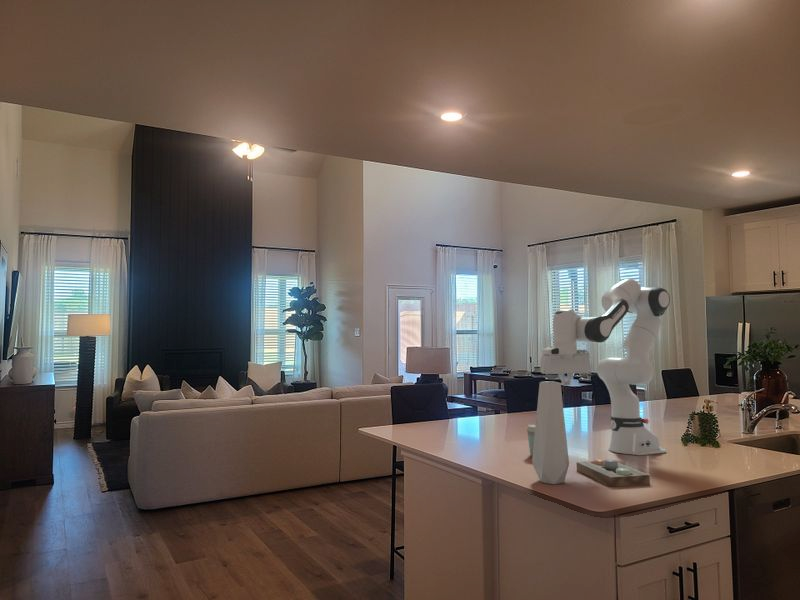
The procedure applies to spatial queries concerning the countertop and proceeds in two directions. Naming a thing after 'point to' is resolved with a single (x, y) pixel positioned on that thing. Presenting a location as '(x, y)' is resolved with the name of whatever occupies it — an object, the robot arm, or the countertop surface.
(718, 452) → the countertop surface
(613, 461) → the button grey
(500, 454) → the countertop surface
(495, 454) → the countertop surface
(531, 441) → the coffee cup
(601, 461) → the button terracotta
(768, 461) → the countertop surface
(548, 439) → the white faceted column
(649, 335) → the robot arm
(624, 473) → the button sage
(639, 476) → the panel
